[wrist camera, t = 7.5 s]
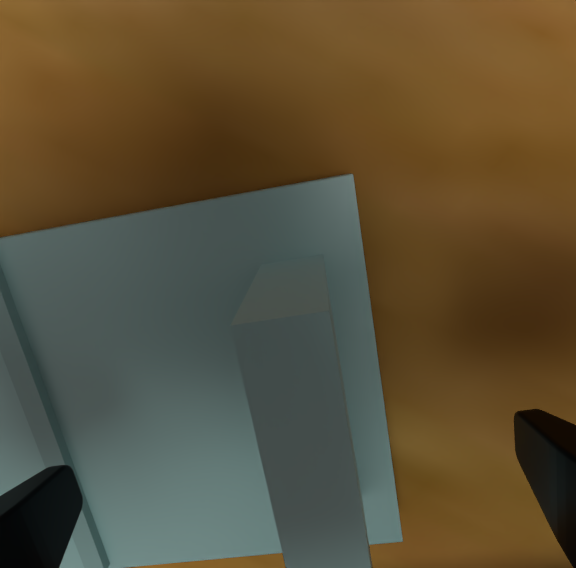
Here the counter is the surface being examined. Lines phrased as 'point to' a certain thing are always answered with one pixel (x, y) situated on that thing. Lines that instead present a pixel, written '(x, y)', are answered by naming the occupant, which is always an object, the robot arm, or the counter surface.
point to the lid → (202, 380)
